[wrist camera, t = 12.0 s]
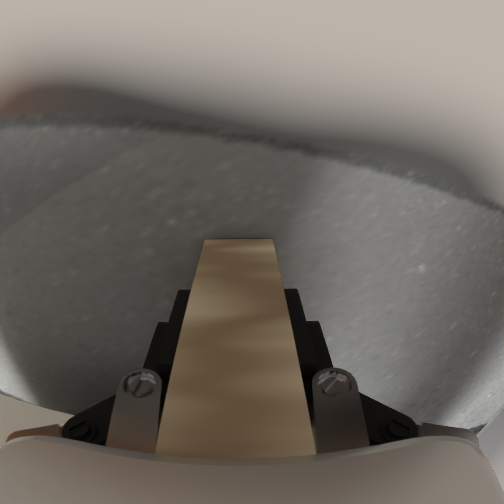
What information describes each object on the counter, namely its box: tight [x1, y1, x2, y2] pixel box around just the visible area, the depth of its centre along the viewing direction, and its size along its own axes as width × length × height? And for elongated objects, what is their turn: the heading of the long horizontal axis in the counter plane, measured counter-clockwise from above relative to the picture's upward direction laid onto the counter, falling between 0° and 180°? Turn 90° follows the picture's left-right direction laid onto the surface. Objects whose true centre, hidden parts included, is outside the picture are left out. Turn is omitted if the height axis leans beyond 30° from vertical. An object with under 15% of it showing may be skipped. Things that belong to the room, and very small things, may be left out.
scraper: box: [155, 239, 316, 459], centre depth 13 cm, size 3×18×11 cm, turn 0°
